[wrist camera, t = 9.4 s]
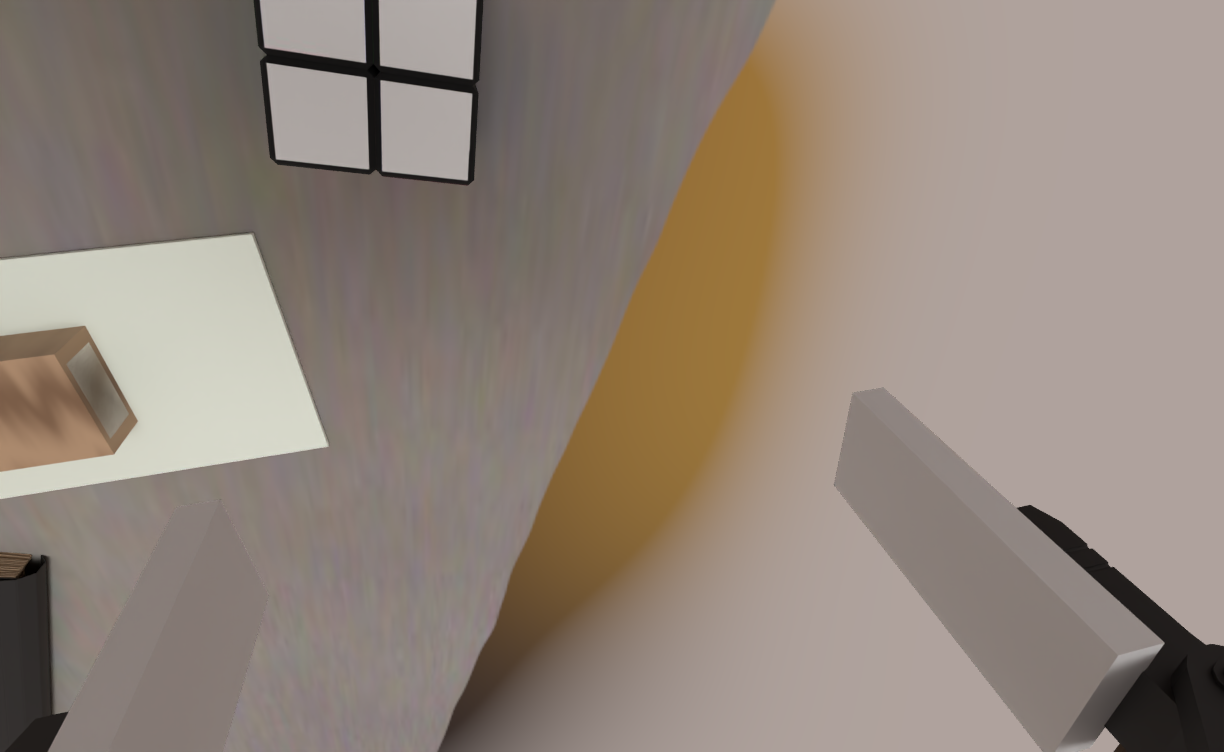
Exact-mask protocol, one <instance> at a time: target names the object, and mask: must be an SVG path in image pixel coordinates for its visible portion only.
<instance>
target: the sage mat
mask: <svg viewBox="0 0 1224 752" xmlns="http://www.w3.org/2000/svg"><path fill="white" fill-rule="evenodd" d="M79 326H86V328H87V330H88V332H89V334H90V335H91V337H92V339H93V341H94V343H95V344H96V346H97V348H98V350H99V352H100V353H101V355H102V357H103V359H104V361H105V362H106V364H107V366H108V368H109V370H110V372H111V373H112V375H113V377H114V379H115V381H116V382H117V384H118V386H119V388H120V390H121V391H122V393H123V395H124V397H125V399H126V400H127V402H128V404H129V406H130V408H131V409H132V411H133V413H134V415H135V417H136V418H137V420H138V422H137V423H136V425H135V426H134V427H133V429H132V430H131V432H130V433H129V434H128V436H127V437H126V439H125V440H124V441H123V443H122V444H121V446H120V447H119V448H118V450H117V451H116V452H115V454H114V455H107V456H101V457H94V458H88V459H81V460H75V461H68V462H62V463H55V464H49V465H42V466H36V467H29V468H23V469H16V470H10V471H3V472H0V499H3V498H9V497H15V496H22V495H28V494H34V493H41V492H47V491H53V490H59V489H66V488H72V487H78V486H84V485H91V484H97V483H103V482H109V481H116V480H122V479H128V478H134V477H141V476H147V475H153V474H159V473H166V472H172V471H178V470H184V469H191V468H197V467H203V466H209V465H216V464H222V463H228V462H234V461H241V460H247V459H253V458H259V457H266V456H272V455H278V454H284V453H291V452H297V451H303V450H310V449H316V448H322V447H328V446H329V442H328V439H327V436H326V434H325V431H324V428H323V425H322V422H321V420H320V417H319V414H318V411H317V408H316V406H315V403H314V400H313V397H312V394H311V392H310V389H309V386H308V383H307V381H306V378H305V375H304V372H303V369H302V367H301V364H300V361H299V358H298V355H297V353H296V350H295V347H294V344H293V341H292V339H291V336H290V333H289V330H288V327H287V325H286V322H285V319H284V316H283V313H282V311H281V308H280V305H279V302H278V299H277V297H276V294H275V291H274V288H273V286H272V283H271V280H270V277H269V274H268V272H267V269H266V266H265V263H264V260H263V258H262V255H261V252H260V249H259V246H258V244H257V241H256V238H255V235H254V232H251V233H241V234H232V235H222V236H212V237H202V238H193V239H183V240H173V241H164V242H154V243H144V244H135V245H125V246H115V247H105V248H96V249H86V250H76V251H67V252H57V253H47V254H38V255H28V256H18V257H8V258H0V336H5V335H13V334H21V333H29V332H37V331H46V330H54V329H62V328H70V327H79Z"/></svg>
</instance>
